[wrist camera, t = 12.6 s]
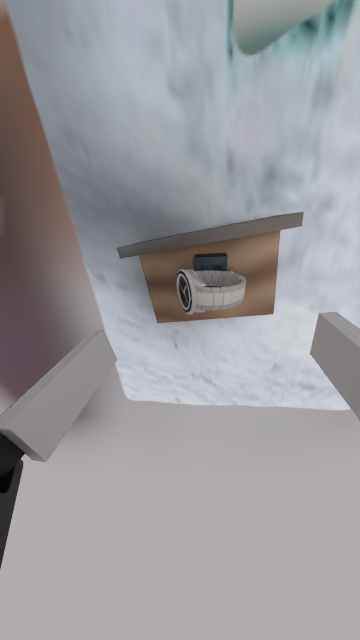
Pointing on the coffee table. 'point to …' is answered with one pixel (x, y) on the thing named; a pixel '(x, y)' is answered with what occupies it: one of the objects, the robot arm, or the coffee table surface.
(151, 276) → the display stand
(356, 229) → the coffee table surface
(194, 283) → the watch
